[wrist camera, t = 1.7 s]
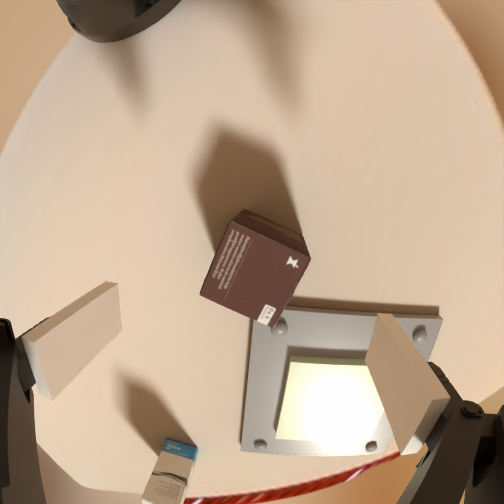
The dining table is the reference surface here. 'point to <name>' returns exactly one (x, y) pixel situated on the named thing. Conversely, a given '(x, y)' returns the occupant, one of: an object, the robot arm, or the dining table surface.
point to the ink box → (171, 474)
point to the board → (320, 383)
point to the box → (256, 268)
